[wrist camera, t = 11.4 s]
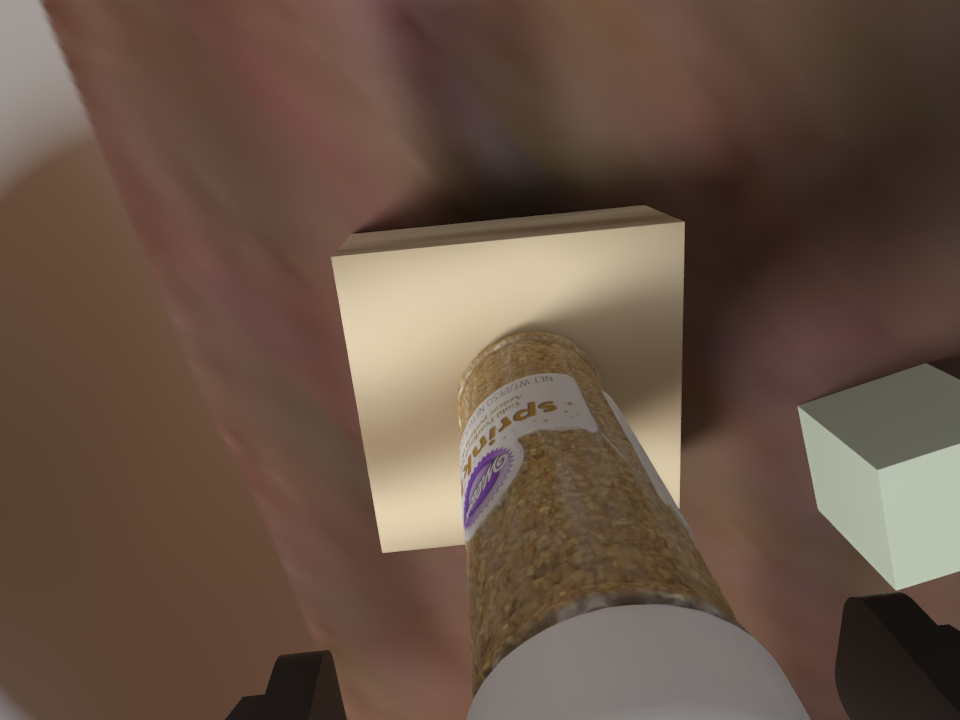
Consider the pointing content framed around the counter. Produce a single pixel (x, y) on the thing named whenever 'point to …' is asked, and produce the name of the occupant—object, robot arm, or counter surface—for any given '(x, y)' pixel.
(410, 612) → the counter surface
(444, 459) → the beech pedestal block
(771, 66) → the counter surface
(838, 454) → the sage painted cube
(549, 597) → the sprinkles bottle
